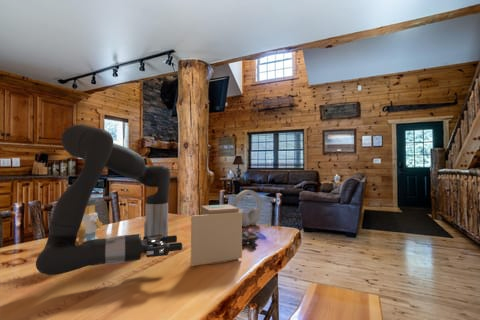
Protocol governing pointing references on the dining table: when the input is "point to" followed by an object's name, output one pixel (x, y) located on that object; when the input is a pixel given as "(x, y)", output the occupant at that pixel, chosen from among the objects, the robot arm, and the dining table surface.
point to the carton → (218, 210)
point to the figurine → (249, 238)
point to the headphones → (253, 213)
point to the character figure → (91, 221)
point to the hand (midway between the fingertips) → (179, 242)
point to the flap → (216, 237)
